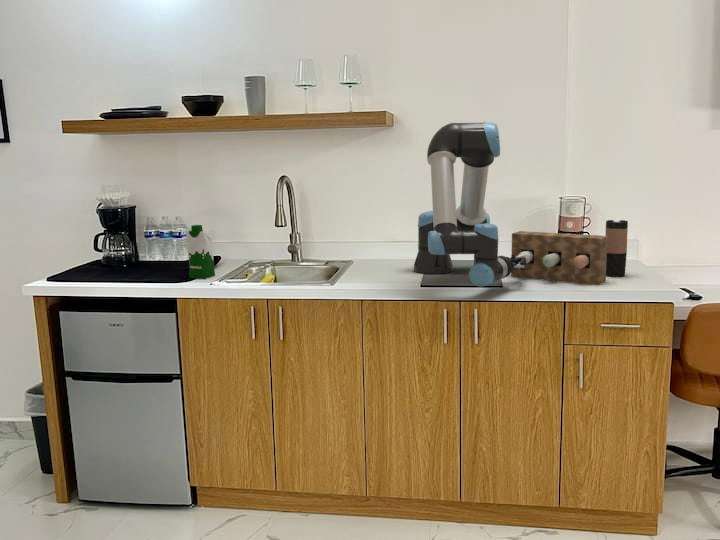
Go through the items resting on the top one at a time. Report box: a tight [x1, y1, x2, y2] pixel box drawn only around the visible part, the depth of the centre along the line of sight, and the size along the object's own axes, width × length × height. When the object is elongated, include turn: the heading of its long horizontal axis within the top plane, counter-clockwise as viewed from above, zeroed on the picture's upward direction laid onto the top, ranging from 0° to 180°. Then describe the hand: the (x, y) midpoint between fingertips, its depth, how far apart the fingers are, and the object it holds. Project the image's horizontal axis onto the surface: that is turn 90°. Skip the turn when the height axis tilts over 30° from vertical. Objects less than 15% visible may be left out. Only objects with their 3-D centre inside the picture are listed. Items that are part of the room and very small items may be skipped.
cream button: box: [518, 250, 534, 263], centre depth 267 cm, size 4×7×4 cm, turn 147°
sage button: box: [543, 253, 561, 267], centre depth 259 cm, size 4×7×4 cm, turn 147°
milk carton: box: [185, 224, 216, 280], centre depth 281 cm, size 9×9×20 cm
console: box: [510, 230, 608, 286], centre depth 264 cm, size 32×8×16 cm, turn 57°
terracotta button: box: [574, 254, 590, 268], centre depth 256 cm, size 4×7×4 cm, turn 147°
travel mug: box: [604, 219, 629, 278], centre depth 269 cm, size 8×8×20 cm
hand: (523, 258), depth 264 cm, fingers closed
